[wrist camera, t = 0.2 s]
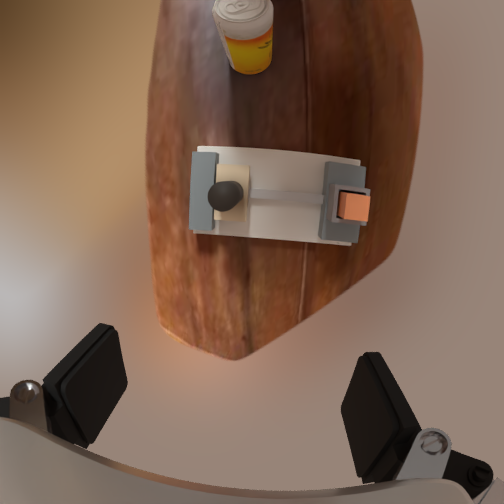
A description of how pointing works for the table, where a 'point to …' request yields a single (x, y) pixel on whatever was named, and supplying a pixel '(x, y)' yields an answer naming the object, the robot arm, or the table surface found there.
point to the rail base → (280, 194)
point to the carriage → (230, 192)
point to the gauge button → (353, 206)
